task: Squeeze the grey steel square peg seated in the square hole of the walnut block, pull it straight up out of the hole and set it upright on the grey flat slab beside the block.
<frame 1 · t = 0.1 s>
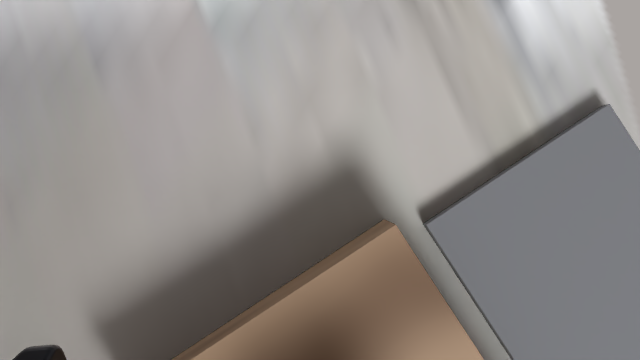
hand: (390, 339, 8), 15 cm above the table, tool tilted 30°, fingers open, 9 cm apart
grey flat slab: (608, 311, 23), on the table
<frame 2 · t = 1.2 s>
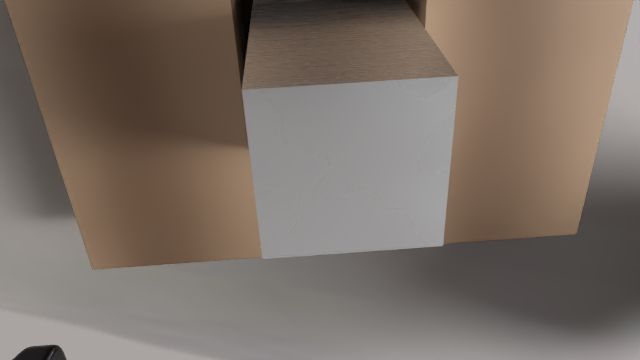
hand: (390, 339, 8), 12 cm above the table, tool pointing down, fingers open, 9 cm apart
walnut socket block: (324, 44, 18), on the table
steel peg: (335, 95, 15), in the walnut socket block
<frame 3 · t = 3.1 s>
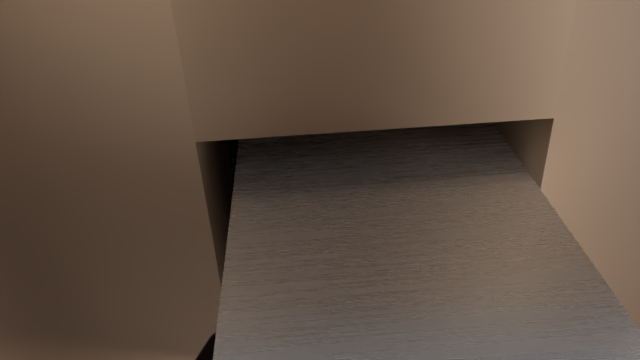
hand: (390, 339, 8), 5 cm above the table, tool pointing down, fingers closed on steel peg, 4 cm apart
walnut socket block: (354, 172, 12), on the table
steel peg: (383, 311, 9), in the walnut socket block, touching gripper
when the fingers open (6 cm above the table, at t = 7.5 s): steel peg stays where it is, resting on grey flat slab.
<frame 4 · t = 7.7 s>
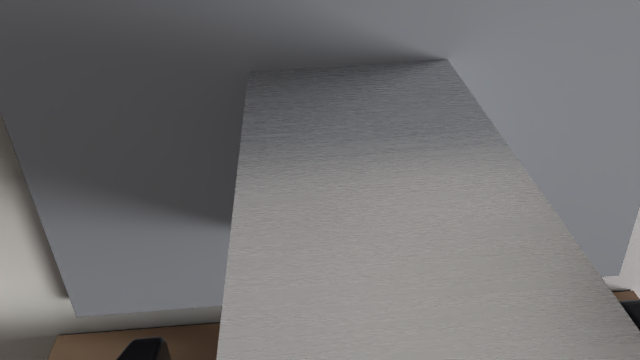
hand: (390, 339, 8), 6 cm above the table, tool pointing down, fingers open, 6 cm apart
grey flat slab: (345, 137, 13), on the table
steel peg: (376, 274, 9), on the grey flat slab, point 5 cm above the table
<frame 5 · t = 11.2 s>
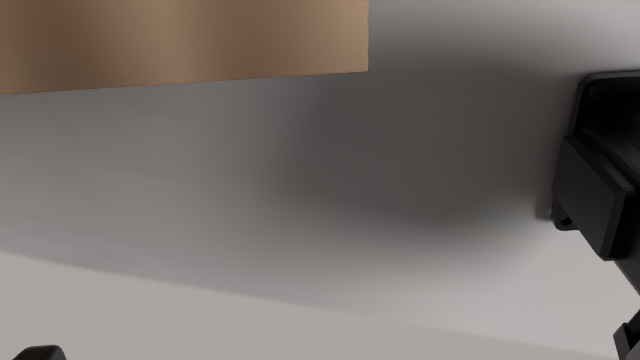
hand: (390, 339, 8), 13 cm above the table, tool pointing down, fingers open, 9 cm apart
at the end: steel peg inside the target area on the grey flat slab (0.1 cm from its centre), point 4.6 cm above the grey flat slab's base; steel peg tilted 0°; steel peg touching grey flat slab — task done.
